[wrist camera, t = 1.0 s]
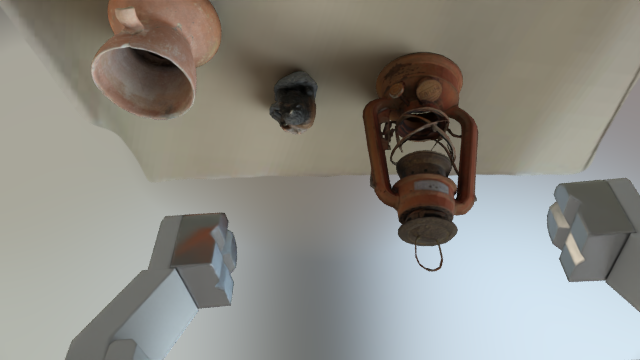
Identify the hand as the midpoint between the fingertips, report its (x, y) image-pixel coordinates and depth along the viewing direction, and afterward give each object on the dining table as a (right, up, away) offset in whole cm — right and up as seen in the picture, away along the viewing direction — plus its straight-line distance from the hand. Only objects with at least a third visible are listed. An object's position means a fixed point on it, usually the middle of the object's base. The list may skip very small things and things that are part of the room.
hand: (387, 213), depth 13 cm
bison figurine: (-6, +15, +66) cm, 68 cm away
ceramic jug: (-22, +24, +55) cm, 64 cm away
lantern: (+13, +15, +63) cm, 67 cm away
